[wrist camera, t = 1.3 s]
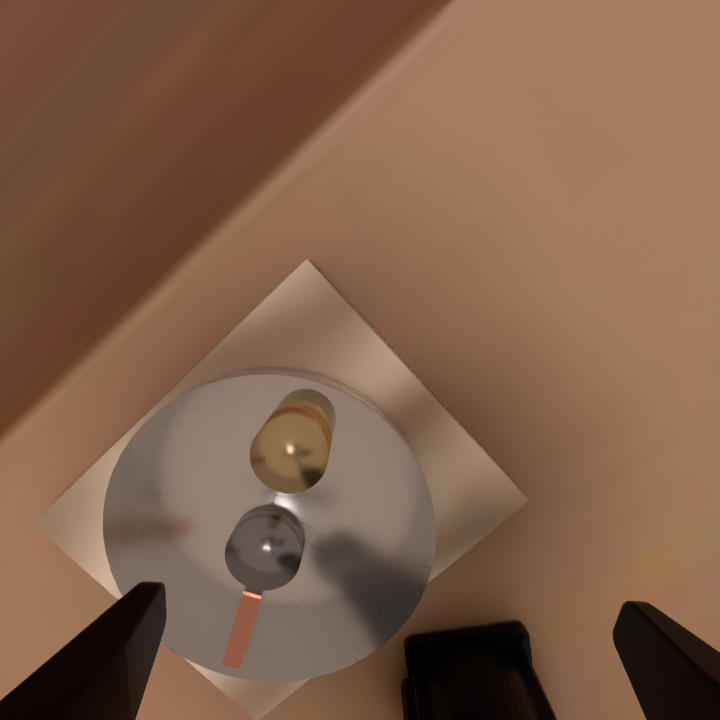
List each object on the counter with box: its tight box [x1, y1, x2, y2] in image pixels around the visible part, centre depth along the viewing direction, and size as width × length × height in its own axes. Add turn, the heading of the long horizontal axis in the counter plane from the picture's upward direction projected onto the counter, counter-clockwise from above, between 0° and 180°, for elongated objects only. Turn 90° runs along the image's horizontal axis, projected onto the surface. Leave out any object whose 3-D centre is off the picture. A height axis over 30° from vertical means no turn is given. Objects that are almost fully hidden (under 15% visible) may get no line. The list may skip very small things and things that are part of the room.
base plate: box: [32, 259, 529, 720], centre depth 20 cm, size 15×18×2 cm
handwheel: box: [103, 367, 436, 682], centre depth 17 cm, size 14×14×6 cm
